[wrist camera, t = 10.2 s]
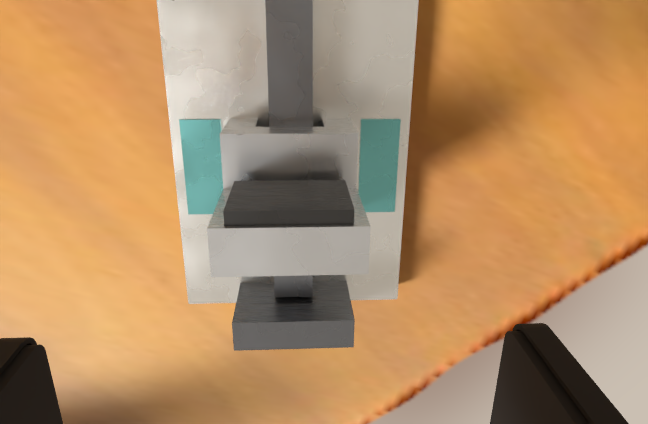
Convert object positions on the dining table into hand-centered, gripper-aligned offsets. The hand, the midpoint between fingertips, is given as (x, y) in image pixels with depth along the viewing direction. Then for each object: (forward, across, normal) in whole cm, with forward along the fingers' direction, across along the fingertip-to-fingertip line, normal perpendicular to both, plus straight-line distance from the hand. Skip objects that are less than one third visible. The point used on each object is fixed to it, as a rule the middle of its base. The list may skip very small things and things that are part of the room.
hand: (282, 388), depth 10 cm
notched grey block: (+17, 0, 0) cm, 17 cm away
